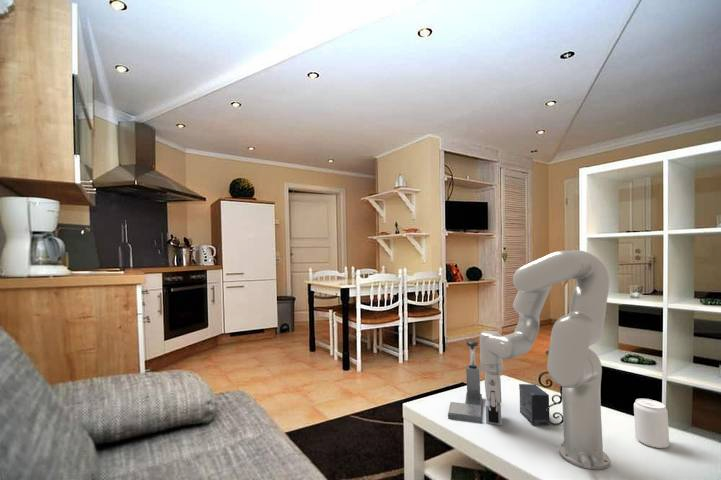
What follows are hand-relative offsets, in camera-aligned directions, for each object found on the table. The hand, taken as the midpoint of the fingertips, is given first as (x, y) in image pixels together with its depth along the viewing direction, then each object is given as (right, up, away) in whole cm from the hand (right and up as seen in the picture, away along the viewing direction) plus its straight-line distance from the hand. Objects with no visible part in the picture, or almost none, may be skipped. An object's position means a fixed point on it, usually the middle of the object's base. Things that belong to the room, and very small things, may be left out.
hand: (493, 417), depth 125 cm
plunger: (-1, +8, +19) cm, 20 cm away
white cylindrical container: (+43, 0, -16) cm, 46 cm away
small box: (+15, -1, +1) cm, 15 cm away
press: (-6, -2, +10) cm, 12 cm away
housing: (0, -1, 0) cm, 1 cm away
